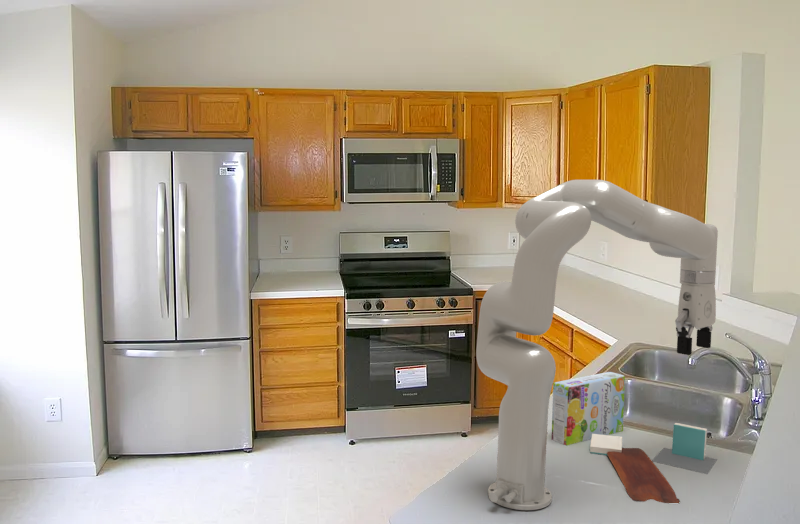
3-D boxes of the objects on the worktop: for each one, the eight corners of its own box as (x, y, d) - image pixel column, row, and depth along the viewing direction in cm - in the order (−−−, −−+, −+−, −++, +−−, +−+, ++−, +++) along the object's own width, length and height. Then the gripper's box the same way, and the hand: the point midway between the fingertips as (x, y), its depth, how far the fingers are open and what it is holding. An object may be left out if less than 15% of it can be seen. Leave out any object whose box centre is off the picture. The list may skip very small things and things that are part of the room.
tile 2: (703, 460, 164) (705, 430, 163) (671, 453, 168) (673, 424, 167) (704, 458, 166) (707, 428, 165) (673, 451, 169) (675, 422, 169)
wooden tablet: (683, 509, 141) (683, 501, 141) (631, 506, 142) (632, 499, 142) (646, 451, 168) (646, 444, 167) (603, 449, 168) (603, 442, 168)
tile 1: (621, 457, 165) (621, 449, 164) (590, 453, 167) (590, 446, 166) (621, 443, 171) (622, 436, 171) (591, 440, 173) (592, 433, 173)
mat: (707, 475, 156) (707, 474, 156) (651, 462, 163) (651, 461, 163) (717, 460, 165) (717, 459, 165) (664, 449, 172) (664, 447, 172)
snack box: (606, 426, 188) (609, 370, 186) (623, 432, 183) (627, 375, 182) (549, 440, 176) (552, 381, 174) (566, 447, 171) (569, 386, 170)
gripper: (696, 283, 155) (692, 359, 157) (730, 275, 166) (726, 347, 168) (663, 279, 160) (660, 353, 162) (698, 272, 172) (695, 342, 174)
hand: (693, 350), depth 165 cm, fingers open, 9 cm apart
